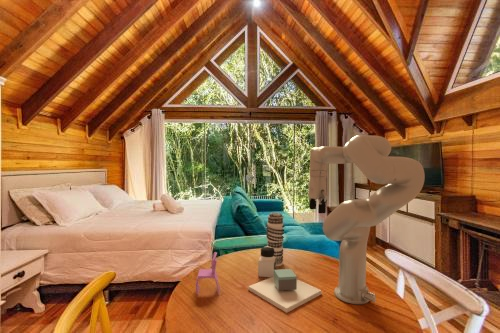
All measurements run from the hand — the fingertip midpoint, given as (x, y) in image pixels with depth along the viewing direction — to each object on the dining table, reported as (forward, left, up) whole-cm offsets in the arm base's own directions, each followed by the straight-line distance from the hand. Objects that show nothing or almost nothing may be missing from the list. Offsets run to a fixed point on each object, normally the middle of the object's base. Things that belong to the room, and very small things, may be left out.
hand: (317, 211), depth 121 cm
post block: (-4, +26, -28) cm, 39 cm away
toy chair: (+15, +49, -29) cm, 59 cm away
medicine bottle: (+12, +20, -28) cm, 37 cm away
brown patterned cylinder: (+19, +8, -28) cm, 35 cm away
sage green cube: (-4, +26, -26) cm, 37 cm away
